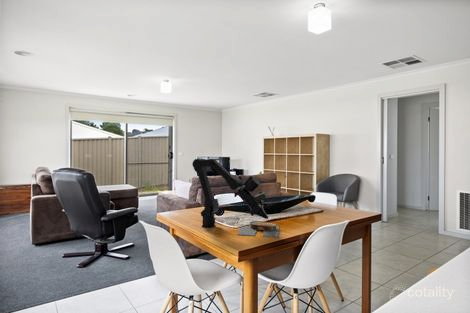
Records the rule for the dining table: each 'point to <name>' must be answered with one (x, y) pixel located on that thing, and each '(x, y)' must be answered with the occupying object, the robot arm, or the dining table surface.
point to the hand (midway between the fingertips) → (267, 218)
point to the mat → (251, 232)
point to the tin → (263, 225)
